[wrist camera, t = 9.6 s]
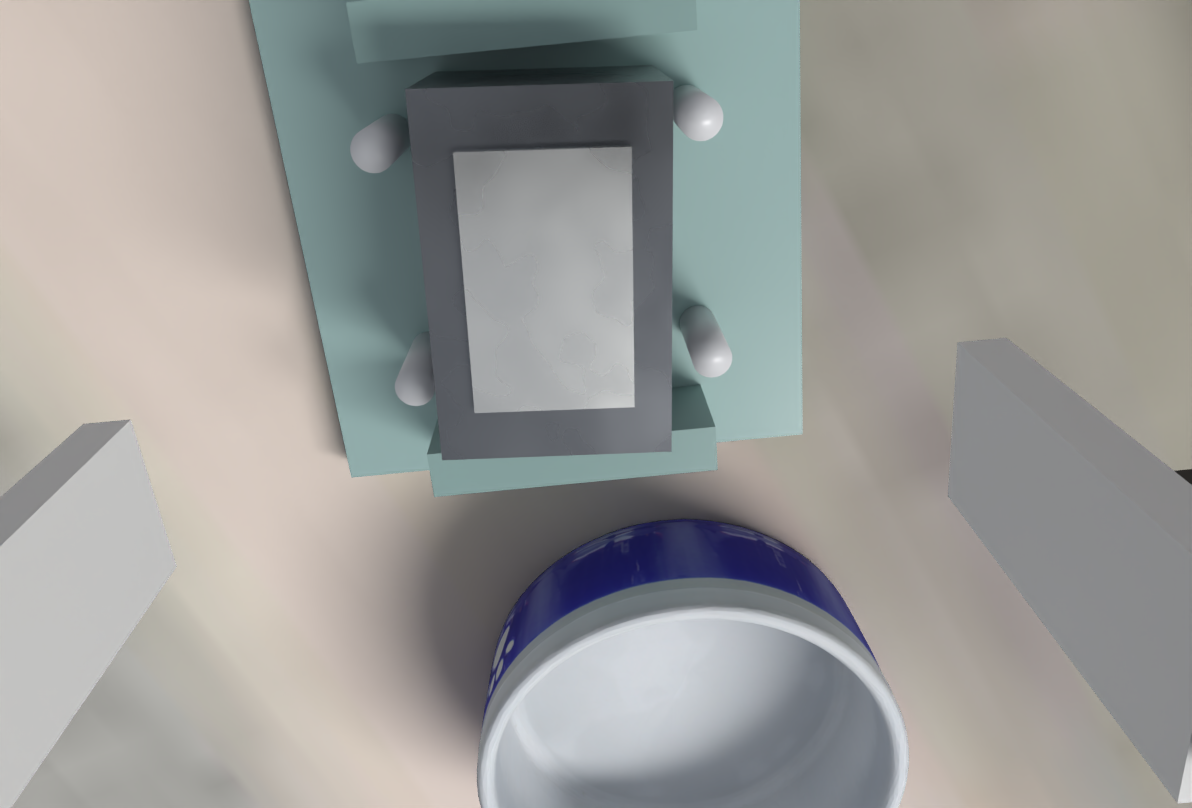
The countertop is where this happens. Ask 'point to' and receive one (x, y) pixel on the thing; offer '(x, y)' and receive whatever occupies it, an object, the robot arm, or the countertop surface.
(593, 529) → the countertop surface
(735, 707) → the dog bowl
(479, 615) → the countertop surface
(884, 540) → the countertop surface
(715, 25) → the pin tray
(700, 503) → the countertop surface
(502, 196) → the block
